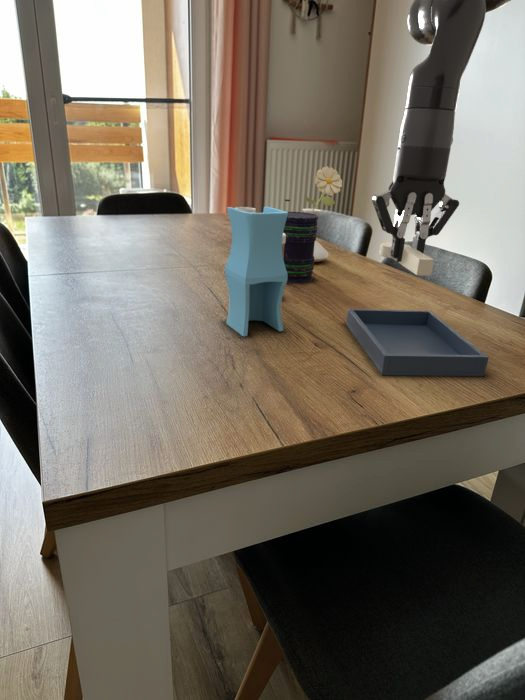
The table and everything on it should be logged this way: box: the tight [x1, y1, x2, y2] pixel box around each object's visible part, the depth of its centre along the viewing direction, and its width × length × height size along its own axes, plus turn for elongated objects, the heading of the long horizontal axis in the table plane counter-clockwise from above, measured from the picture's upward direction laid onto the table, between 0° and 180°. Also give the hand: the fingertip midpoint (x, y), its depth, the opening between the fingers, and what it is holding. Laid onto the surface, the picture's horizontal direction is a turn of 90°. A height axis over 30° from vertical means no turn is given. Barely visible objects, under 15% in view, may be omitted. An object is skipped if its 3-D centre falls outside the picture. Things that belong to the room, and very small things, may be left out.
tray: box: [345, 308, 489, 377], centre depth 84 cm, size 16×22×3 cm
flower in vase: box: [302, 165, 343, 263], centre depth 138 cm, size 13×11×25 cm
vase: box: [224, 206, 289, 337], centre depth 87 cm, size 8×8×20 cm
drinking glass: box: [234, 206, 257, 213], centre depth 165 cm, size 7×7×10 cm
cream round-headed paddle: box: [379, 241, 435, 277], centre depth 81 cm, size 16×5×2 cm, turn 5°
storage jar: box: [283, 199, 319, 284], centre depth 121 cm, size 10×10×18 cm
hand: (405, 260), depth 82 cm, fingers closed on cream round-headed paddle, 2 cm apart
